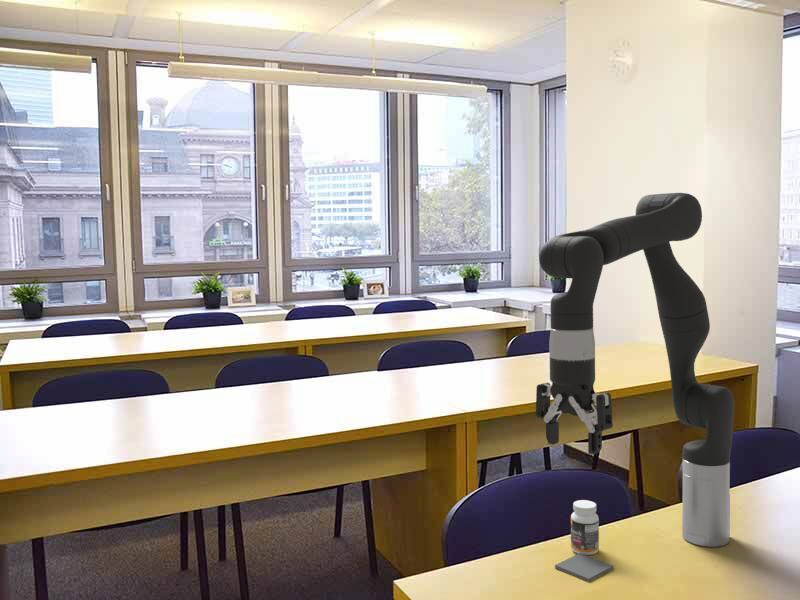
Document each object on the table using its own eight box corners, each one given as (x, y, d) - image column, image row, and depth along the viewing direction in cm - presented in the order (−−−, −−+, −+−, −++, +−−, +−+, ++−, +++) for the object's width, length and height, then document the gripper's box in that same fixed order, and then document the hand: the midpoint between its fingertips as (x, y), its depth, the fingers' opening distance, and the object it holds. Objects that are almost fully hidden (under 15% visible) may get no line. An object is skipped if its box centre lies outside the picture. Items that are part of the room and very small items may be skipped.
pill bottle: (565, 547, 156) (564, 501, 155) (587, 542, 158) (587, 497, 157) (582, 558, 151) (581, 510, 150) (604, 552, 153) (604, 505, 152)
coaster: (579, 555, 152) (579, 552, 152) (613, 568, 146) (613, 565, 146) (555, 567, 147) (554, 565, 147) (588, 581, 141) (588, 578, 141)
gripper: (621, 356, 123) (621, 452, 124) (552, 347, 133) (553, 436, 135) (593, 362, 118) (594, 462, 119) (525, 353, 129) (526, 444, 130)
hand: (573, 448), depth 127 cm, fingers open, 8 cm apart
